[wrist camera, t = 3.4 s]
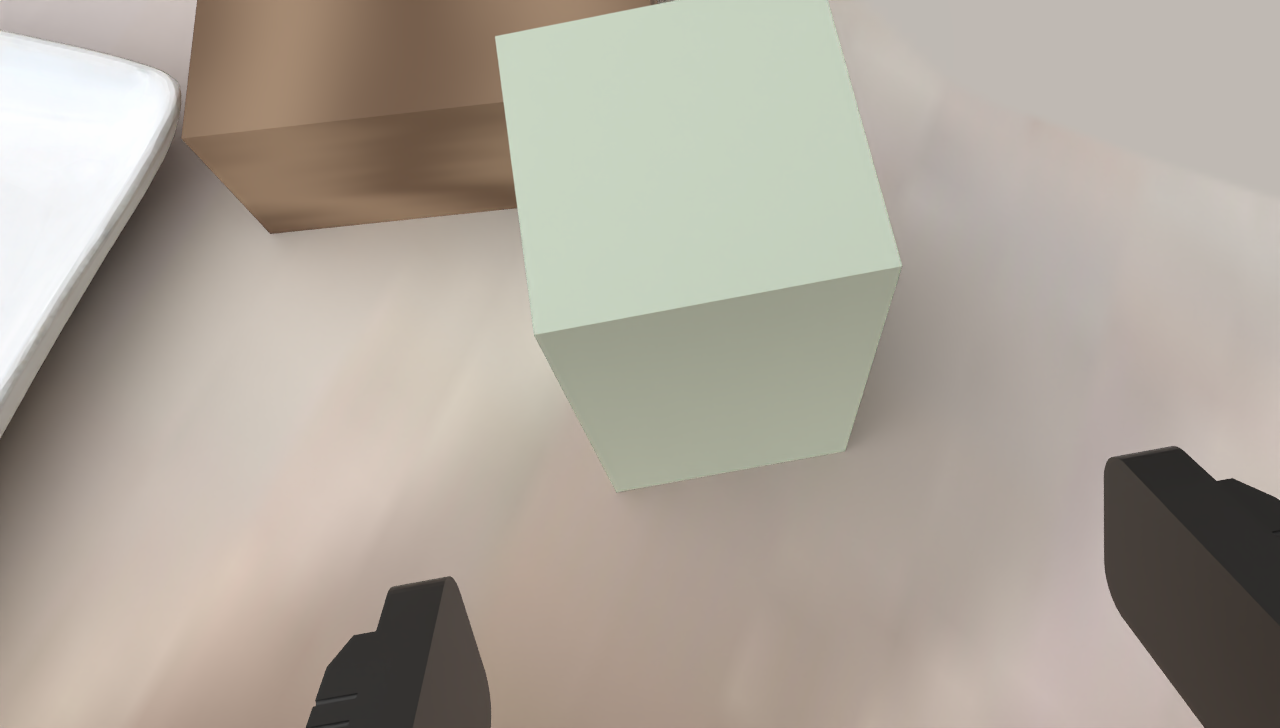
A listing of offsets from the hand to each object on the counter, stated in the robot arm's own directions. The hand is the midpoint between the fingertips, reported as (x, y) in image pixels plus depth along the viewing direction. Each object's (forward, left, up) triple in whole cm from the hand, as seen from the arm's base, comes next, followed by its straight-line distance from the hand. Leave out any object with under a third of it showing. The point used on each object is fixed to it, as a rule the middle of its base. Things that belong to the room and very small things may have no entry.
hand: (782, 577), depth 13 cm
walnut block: (+5, -18, -11) cm, 22 cm away
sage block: (0, -7, -11) cm, 13 cm away
